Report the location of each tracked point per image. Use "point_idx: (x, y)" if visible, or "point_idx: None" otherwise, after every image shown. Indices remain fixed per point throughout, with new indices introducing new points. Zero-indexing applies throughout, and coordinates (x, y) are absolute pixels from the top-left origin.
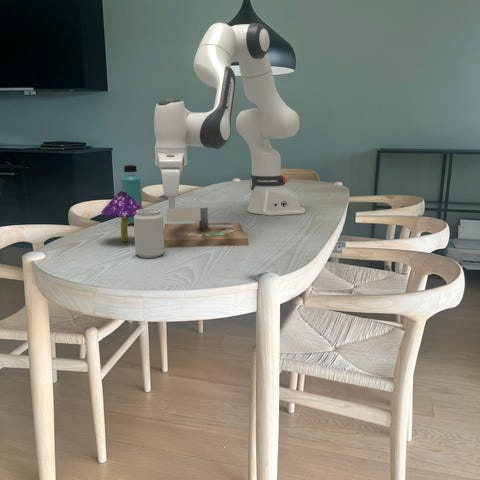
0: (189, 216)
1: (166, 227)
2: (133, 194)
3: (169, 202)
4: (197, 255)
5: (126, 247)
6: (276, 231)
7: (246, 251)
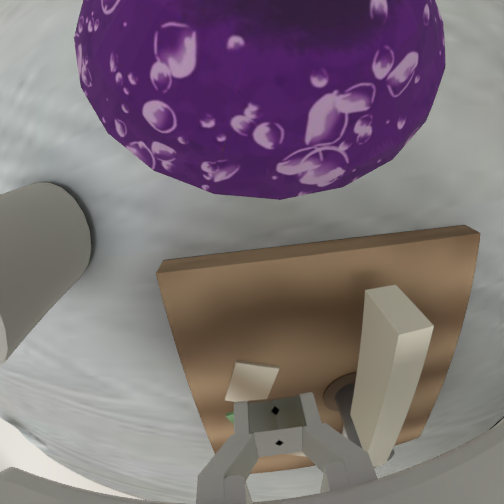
0: (361, 398)
1: (424, 249)
2: None
3: (229, 439)
4: (89, 370)
5: None
6: None
7: (161, 454)
